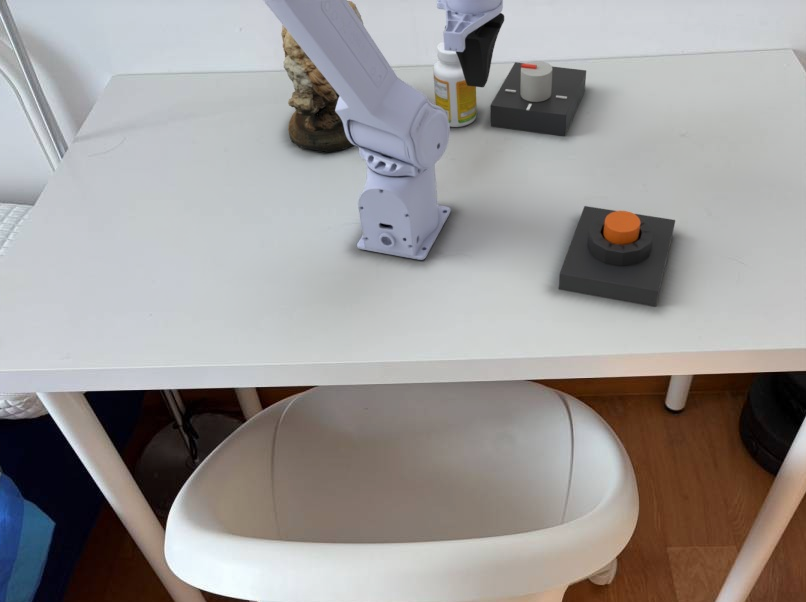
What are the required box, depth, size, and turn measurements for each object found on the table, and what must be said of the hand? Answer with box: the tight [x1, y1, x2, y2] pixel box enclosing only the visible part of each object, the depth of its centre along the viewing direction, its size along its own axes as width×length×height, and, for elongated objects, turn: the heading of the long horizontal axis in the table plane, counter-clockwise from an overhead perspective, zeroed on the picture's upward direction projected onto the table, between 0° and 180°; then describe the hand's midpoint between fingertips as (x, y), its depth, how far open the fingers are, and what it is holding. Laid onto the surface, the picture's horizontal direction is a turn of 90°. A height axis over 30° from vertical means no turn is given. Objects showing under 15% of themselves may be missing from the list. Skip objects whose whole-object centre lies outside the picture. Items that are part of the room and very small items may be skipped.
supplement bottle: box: [432, 40, 478, 128], centre depth 102 cm, size 5×5×10 cm
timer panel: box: [489, 61, 587, 137], centre depth 105 cm, size 12×10×3 cm
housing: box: [558, 205, 676, 308], centre depth 83 cm, size 12×10×4 cm
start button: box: [603, 210, 640, 245], centre depth 81 cm, size 4×4×2 cm
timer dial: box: [520, 60, 552, 102], centre depth 101 cm, size 4×4×4 cm
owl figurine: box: [280, 0, 364, 153], centre depth 99 cm, size 18×12×17 cm, turn 161°
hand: (477, 83), depth 90 cm, fingers closed
